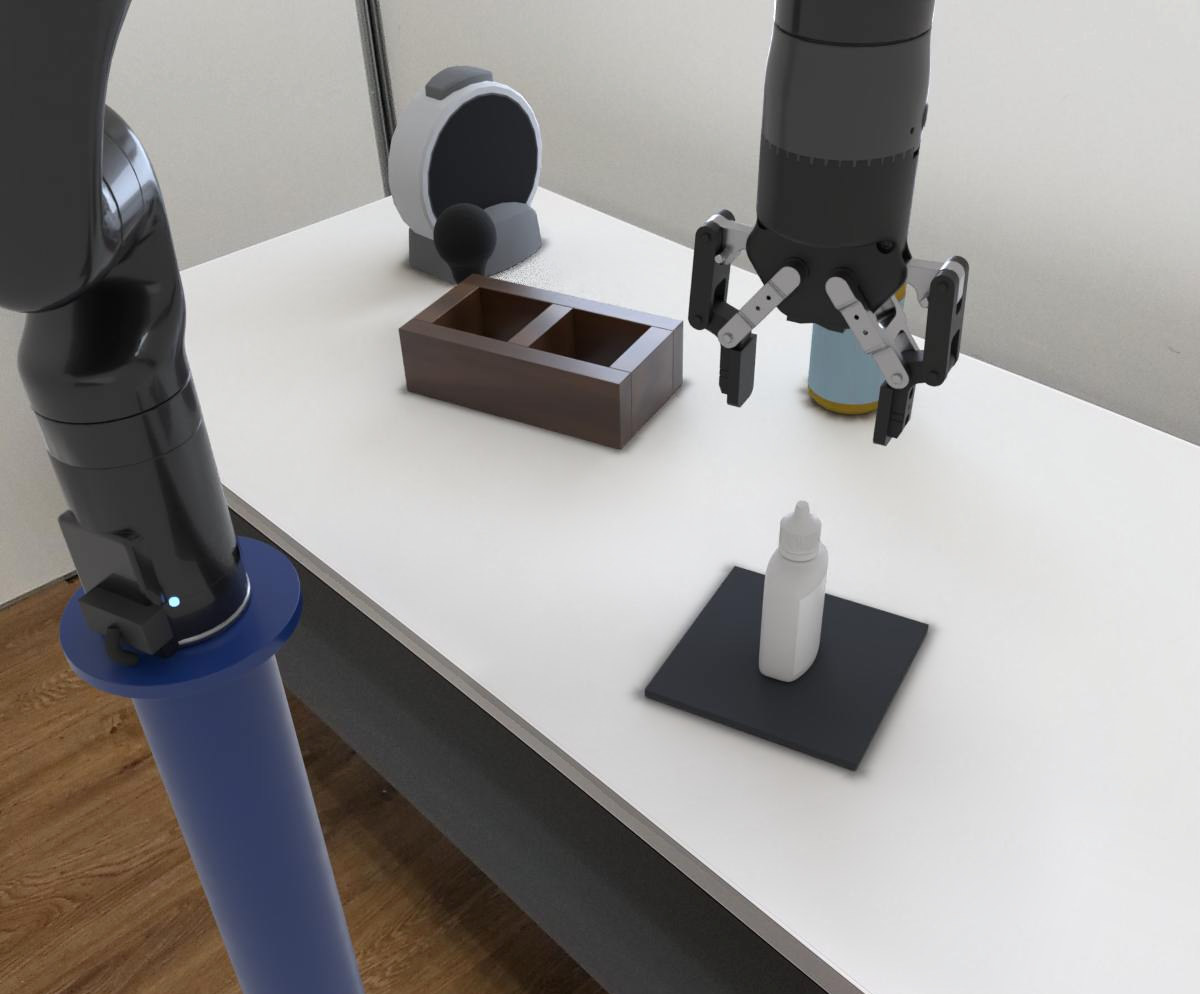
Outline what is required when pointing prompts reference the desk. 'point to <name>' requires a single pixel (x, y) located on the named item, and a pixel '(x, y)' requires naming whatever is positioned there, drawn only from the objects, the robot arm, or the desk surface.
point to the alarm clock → (467, 165)
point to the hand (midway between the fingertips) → (811, 418)
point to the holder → (544, 358)
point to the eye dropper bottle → (793, 597)
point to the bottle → (844, 370)
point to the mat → (806, 705)
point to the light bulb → (465, 239)
